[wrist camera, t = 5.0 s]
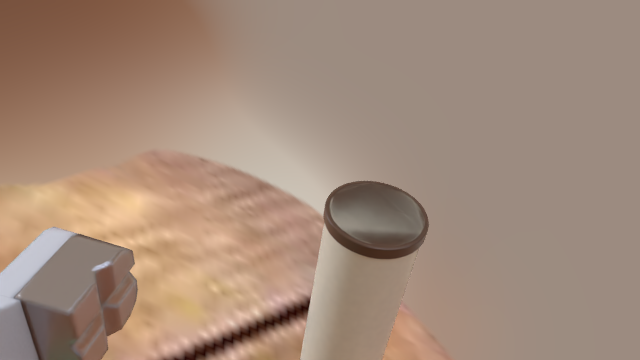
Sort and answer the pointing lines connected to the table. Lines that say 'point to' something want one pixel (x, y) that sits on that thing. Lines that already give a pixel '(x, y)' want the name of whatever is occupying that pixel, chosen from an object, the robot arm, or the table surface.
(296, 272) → the table surface
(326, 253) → the capped cylinder
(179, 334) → the table surface
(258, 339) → the table surface
